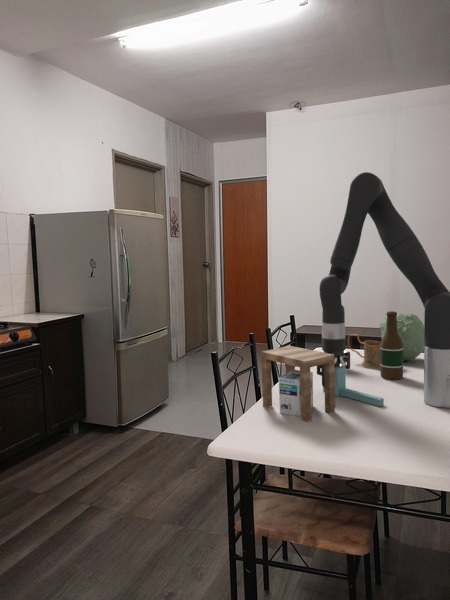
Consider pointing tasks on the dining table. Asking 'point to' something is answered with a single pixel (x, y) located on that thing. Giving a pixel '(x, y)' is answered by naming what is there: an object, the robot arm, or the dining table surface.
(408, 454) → the dining table surface
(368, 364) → the mug
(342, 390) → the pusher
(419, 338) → the cabbage
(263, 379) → the bench
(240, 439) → the dining table surface
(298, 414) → the light bulb box
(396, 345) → the beer bottle
